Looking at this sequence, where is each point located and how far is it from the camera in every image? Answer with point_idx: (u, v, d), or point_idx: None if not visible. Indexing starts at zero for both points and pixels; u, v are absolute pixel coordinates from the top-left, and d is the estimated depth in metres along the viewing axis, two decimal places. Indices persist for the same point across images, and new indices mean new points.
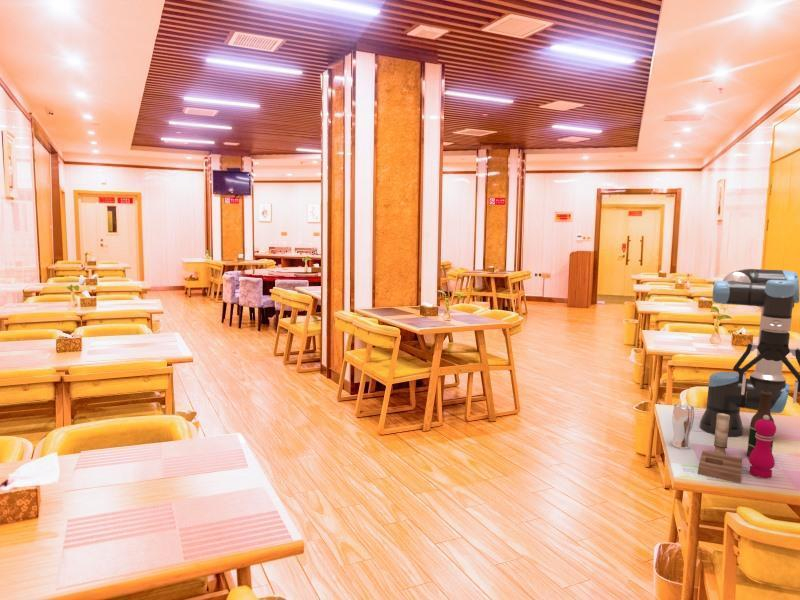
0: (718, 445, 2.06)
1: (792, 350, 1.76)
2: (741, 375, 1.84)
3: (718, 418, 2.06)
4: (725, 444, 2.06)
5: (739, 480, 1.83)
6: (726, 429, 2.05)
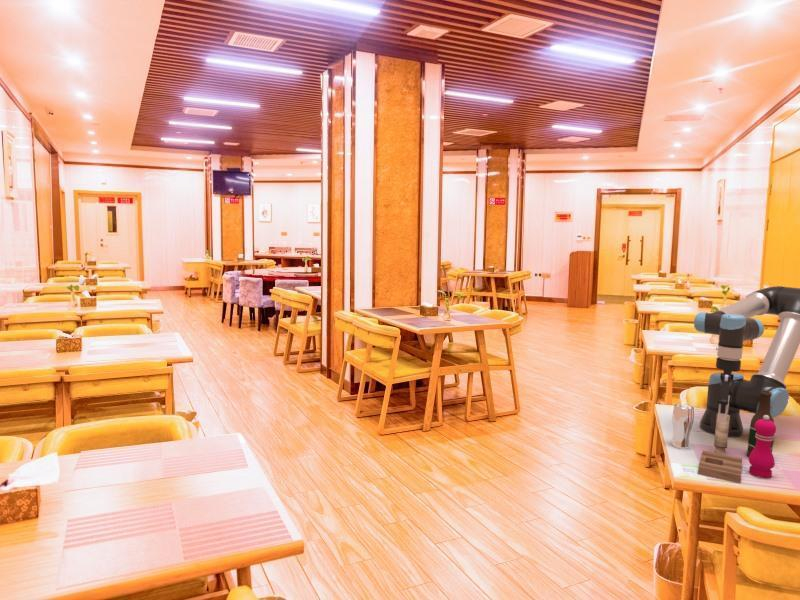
0: (718, 445, 2.06)
1: None
2: None
3: None
4: (725, 444, 2.06)
5: (739, 480, 1.83)
6: (726, 429, 2.05)
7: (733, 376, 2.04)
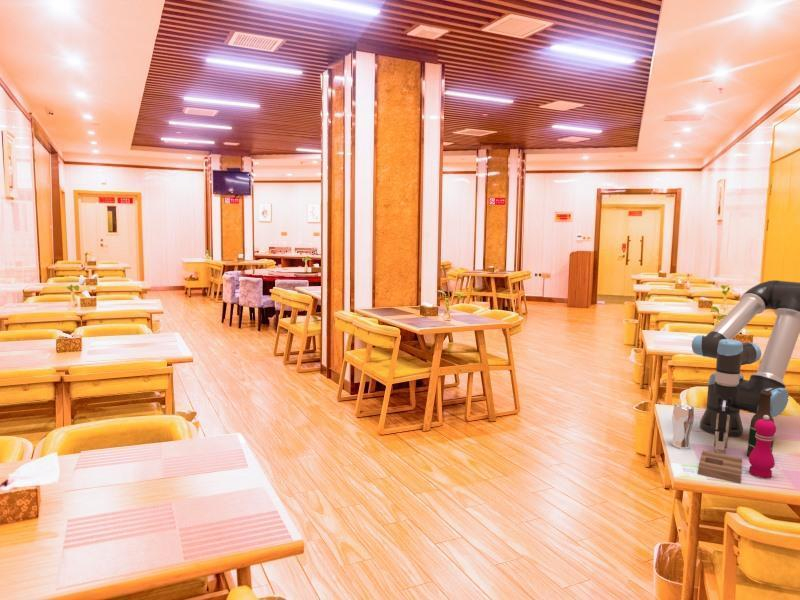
0: None
1: (722, 404, 2.02)
2: None
3: (718, 418, 2.06)
4: (725, 444, 2.06)
5: (739, 480, 1.83)
6: (726, 429, 2.05)
7: (731, 401, 2.06)
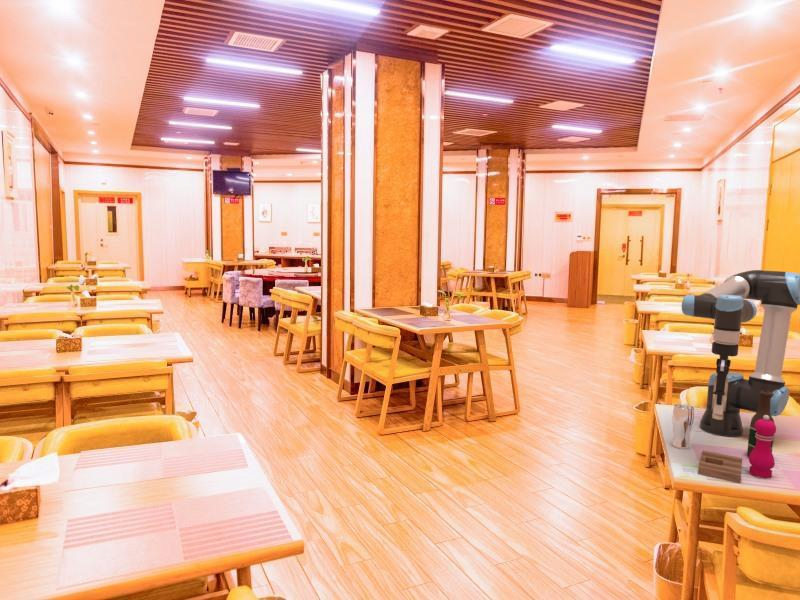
0: None
1: (721, 364, 1.87)
2: None
3: (716, 380, 1.91)
4: (723, 408, 1.90)
5: (739, 480, 1.83)
6: (725, 392, 1.90)
7: (730, 362, 1.90)
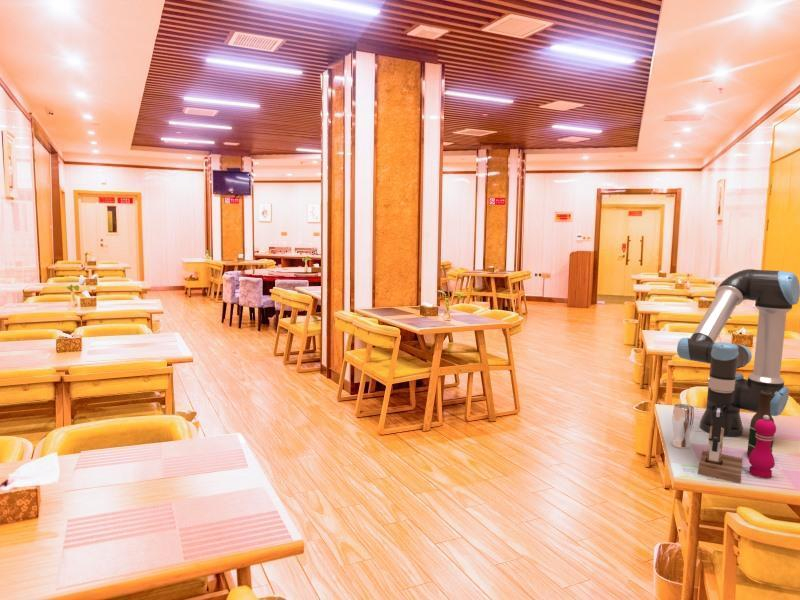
0: (711, 460, 1.93)
1: None
2: None
3: (711, 431, 1.92)
4: (719, 459, 1.92)
5: (739, 480, 1.83)
6: (720, 443, 1.91)
7: (726, 409, 1.92)
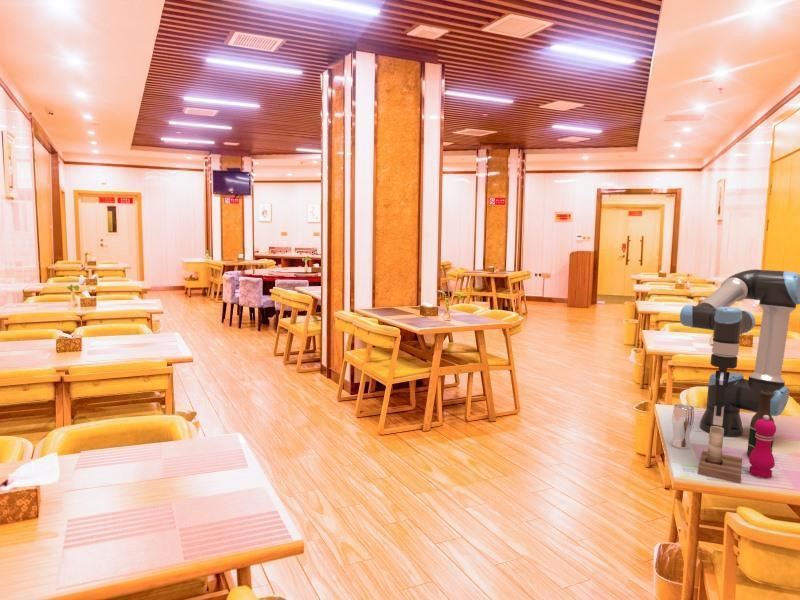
0: (711, 460, 1.93)
1: (720, 377, 1.86)
2: None
3: (711, 431, 1.92)
4: (719, 459, 1.92)
5: (739, 480, 1.83)
6: (720, 443, 1.91)
7: (729, 373, 1.90)
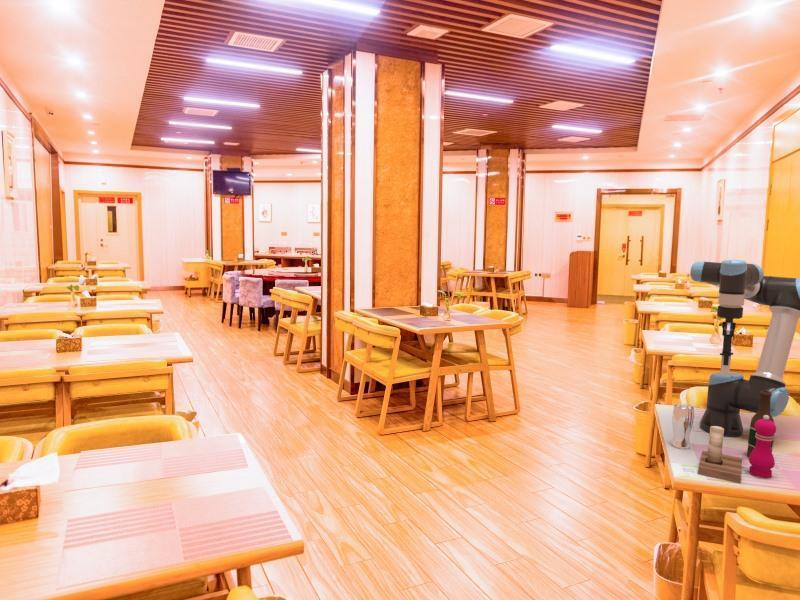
0: (711, 460, 1.93)
1: (727, 327, 1.93)
2: None
3: (711, 431, 1.92)
4: (719, 459, 1.92)
5: (739, 480, 1.83)
6: (720, 443, 1.91)
7: (735, 324, 1.97)
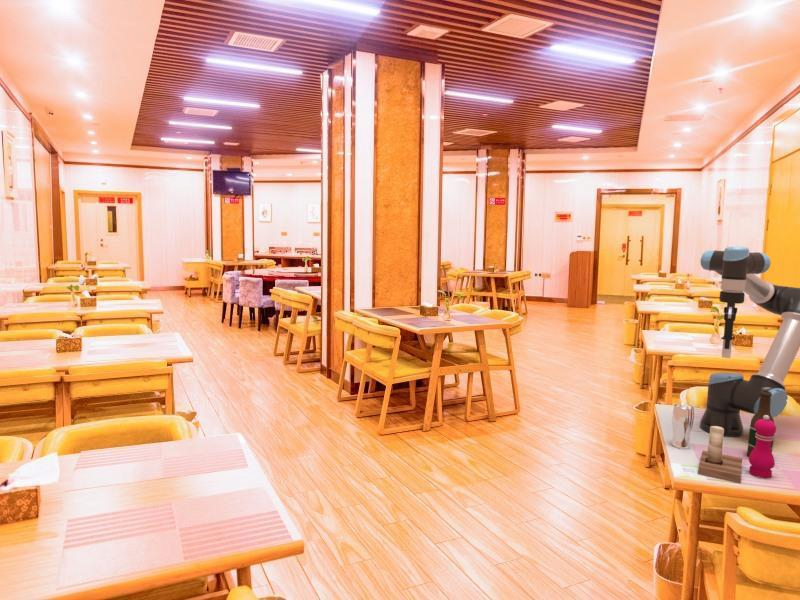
0: (711, 460, 1.93)
1: (728, 311, 2.00)
2: None
3: (711, 431, 1.92)
4: (719, 459, 1.92)
5: (739, 480, 1.83)
6: (720, 443, 1.91)
7: None
